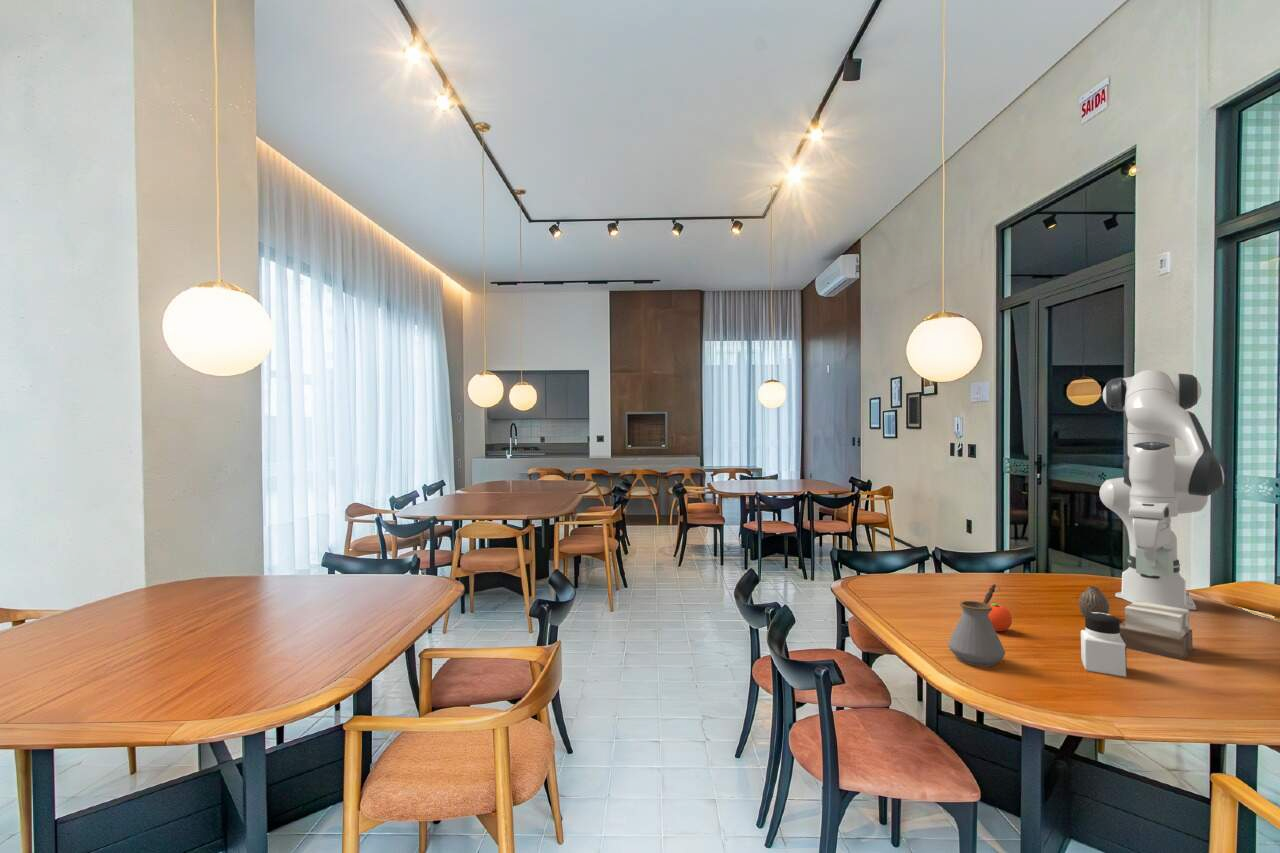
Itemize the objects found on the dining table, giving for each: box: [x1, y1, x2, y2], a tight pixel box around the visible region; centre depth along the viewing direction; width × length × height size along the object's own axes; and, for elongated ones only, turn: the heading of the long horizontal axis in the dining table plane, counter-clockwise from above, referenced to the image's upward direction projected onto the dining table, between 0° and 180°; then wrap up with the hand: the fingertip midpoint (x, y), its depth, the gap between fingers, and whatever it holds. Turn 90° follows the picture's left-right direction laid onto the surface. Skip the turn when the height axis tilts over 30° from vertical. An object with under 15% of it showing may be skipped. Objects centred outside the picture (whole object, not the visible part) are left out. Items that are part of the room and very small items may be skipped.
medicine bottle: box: [1080, 612, 1128, 678], centre depth 127 cm, size 7×7×12 cm
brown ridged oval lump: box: [1078, 585, 1110, 617], centre depth 163 cm, size 7×7×9 cm
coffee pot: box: [947, 583, 1006, 667], centre depth 136 cm, size 21×12×15 cm, turn 133°
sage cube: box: [1136, 548, 1174, 578], centre depth 140 cm, size 6×6×6 cm
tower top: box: [1124, 601, 1191, 639], centre depth 140 cm, size 10×10×5 cm
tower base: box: [1120, 620, 1193, 662], centre depth 140 cm, size 12×12×5 cm
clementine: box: [988, 603, 1013, 632], centre depth 153 cm, size 8×7×7 cm
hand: (1154, 564), depth 140 cm, fingers closed on sage cube, 6 cm apart
